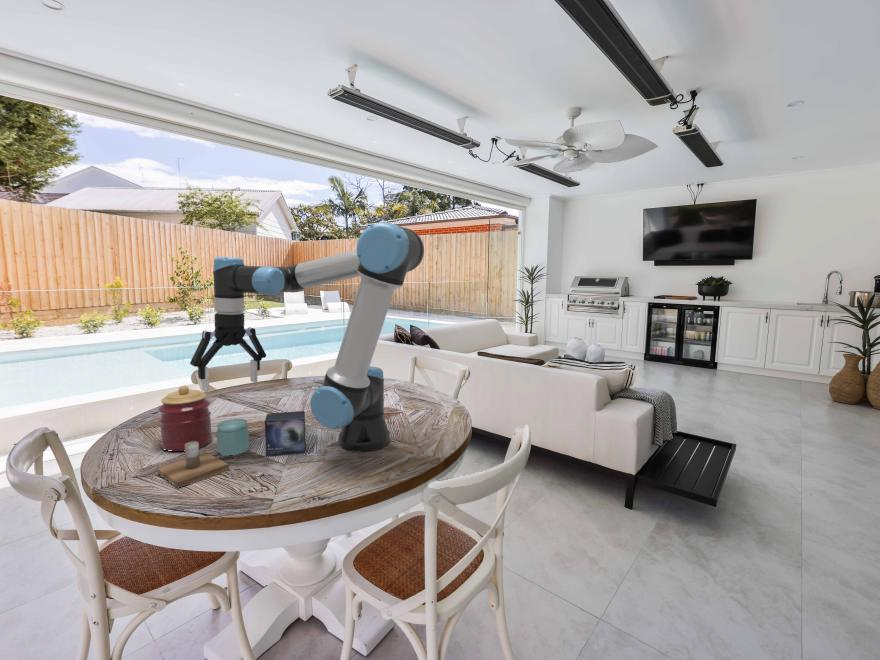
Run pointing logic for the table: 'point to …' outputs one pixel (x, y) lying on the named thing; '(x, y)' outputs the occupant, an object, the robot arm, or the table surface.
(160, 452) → the table surface
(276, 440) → the small box
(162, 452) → the table surface
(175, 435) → the canister
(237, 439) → the lidded container
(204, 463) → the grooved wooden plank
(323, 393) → the robot arm
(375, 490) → the table surface
